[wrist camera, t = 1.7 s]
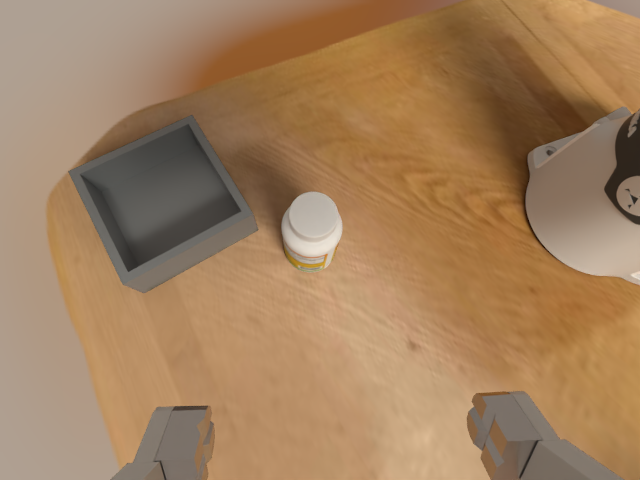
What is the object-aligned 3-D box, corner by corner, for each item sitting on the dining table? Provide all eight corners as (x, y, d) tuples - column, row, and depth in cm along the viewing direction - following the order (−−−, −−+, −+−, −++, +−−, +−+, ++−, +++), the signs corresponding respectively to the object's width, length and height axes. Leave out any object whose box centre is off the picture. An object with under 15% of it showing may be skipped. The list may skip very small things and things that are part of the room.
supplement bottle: (312, 215, 39) (317, 170, 29) (345, 251, 37) (361, 217, 28) (273, 245, 37) (265, 209, 28) (306, 284, 36) (309, 259, 27)
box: (203, 140, 41) (192, 114, 36) (258, 229, 38) (253, 213, 33) (94, 192, 38) (68, 171, 34) (144, 293, 35) (122, 284, 31)
